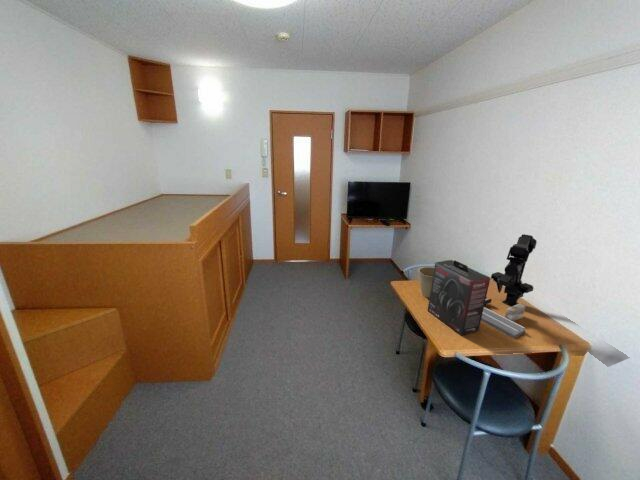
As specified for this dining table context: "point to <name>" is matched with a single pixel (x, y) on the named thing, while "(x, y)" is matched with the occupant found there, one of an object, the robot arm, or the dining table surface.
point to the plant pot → (426, 280)
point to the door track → (502, 323)
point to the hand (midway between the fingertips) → (507, 296)
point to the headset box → (458, 296)
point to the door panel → (515, 312)
